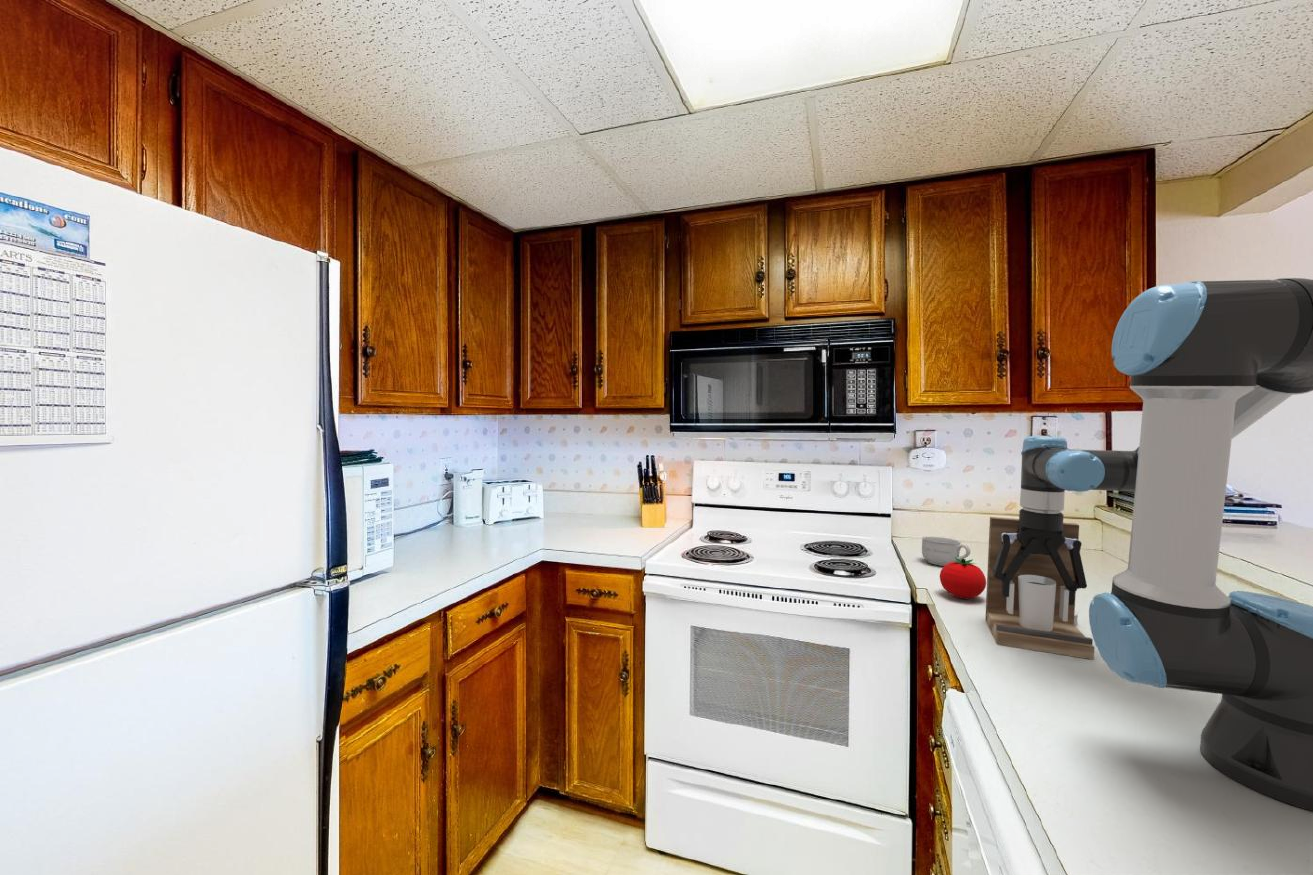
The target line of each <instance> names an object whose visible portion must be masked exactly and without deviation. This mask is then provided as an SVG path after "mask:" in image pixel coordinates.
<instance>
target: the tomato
mask: <svg viewBox="0 0 1313 875" xmlns="http://www.w3.org/2000/svg"><path fill="white" fill-rule="evenodd" d="M955 559H956V560H957V561H958V562H957V561H954V562H950V563H948V564H946V565H945V566H942V568H941V570H940V573H939V581H940V584H941V586H942V588H943V589H944V591H946V592H947V593H948V594H950V595H952V596H953V597H956V598H959V599H973V598H976V597H979V596H980V595H981V594H982V593H983V592H984V591H985V589H986V588H987V578H986V575H985V574H984V572H983V570H982V569H981V568H980V567H978V566H977V565H975V564H977V563H976V562H973V561H974V559H969V560H966V558H964V559H961V560H960V559H958V558H956V557H955ZM951 561H952V560H951Z"/></svg>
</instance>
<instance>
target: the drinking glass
mask: <svg viewBox="0 0 1313 875" xmlns="http://www.w3.org/2000/svg"><path fill="white" fill-rule="evenodd" d="M1018 592H1019V618H1020V625H1021V626H1023V627H1025V628H1027V629H1034V630H1040V631H1047V632H1049V631H1052V630H1053V619H1054V606H1055V593H1056V581H1054V580H1053V579H1050V578H1047V577H1042V576H1036V575H1020V576H1018Z"/></svg>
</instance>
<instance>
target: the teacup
mask: <svg viewBox="0 0 1313 875" xmlns="http://www.w3.org/2000/svg"><path fill="white" fill-rule="evenodd" d="M921 539H922V541H921V554H922V558H924V559H925V560H926V561H927V562H928V563H929V564H932V565H936V566H940V567H944V566H945V565H946V564H948V563H950V562H954V561H957V560H956V559H955V557H956V558H958V559H960V560H961V559H966V558H968V557H969V556H970V554H971V548H970V547H969V546H968V545H967V544H965V543H962V544H961V541H960V540H958V539H955V538H954V539H953V538H949V537H943V536H934V535H933V536H930V535H929V536H926V535H925V536H922V537H921ZM961 548H963V549H965V554H964V555H961V556H960V551H961ZM951 560H952V561H951ZM957 562H958V561H957Z"/></svg>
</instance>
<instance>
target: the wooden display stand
mask: <svg viewBox="0 0 1313 875" xmlns="http://www.w3.org/2000/svg"><path fill="white" fill-rule="evenodd" d="M988 528H989V531H988V533H989V534H988V550H987V551H988V552H987V573H986V574H987V575H986V576H987V578H986V595H985V597H986V598H985V599H986V600H985V615H984V616H985V618H984V619H985V622H986V624H987V626H988V628H989V631H990V632H991V634H992V637H993V638H994V640H995V642H996V644H997V645H999V646H1000V645H1001V646H1007V647H1011V648H1012V647H1013V648H1019V649H1025V650H1026V649H1027V650H1032V651H1037V652H1038V651H1039V652H1043V653H1044V652H1045V653H1051V654H1058V655H1063V656H1070V657H1075V658H1076V657H1077V658H1082V659H1087V660H1088V659H1089V660H1094V659H1095V658H1094V656H1095V646H1094V645H1093V641H1094V639H1093V638H1092V637H1087V636H1086V635H1084V634H1083V633H1082V632H1081V630H1080V629H1079V628H1078V627H1077V625H1076V626H1075V625H1074V613H1075V611H1076V599H1075V600H1074V604H1073V605H1068V622H1066V621H1063V620H1062V619H1061V618H1060V617H1059V609H1060V590H1061V586H1063V587H1066V585H1065V583H1064V581H1063V579H1062V577H1061V576H1060V574H1059V572H1058V570H1057V568H1056V566H1055V564H1054V562H1053V560H1052V558H1051V557H1050V555H1049V556H1048V555H1043V554H1031V553H1030V555H1029V556H1028V557H1027V558H1026V559H1025V561H1024V562H1023V564H1022V565H1021V566H1020V568H1019V569H1018V571H1017V572H1016V574H1015V575H1014V577H1013V578H1012V580H1011V581H1012V582H1013V583H1014V605H1013V614H1009V613H1008V611H1007V610H1006V603H1007V597H1004V596H1003V595H1002V592H1001V591H1002V580H1000V579H997V578H995V577H994V575H993V574H992V571H993V568H994V565H995V562H996V559H997V555H998V552H999V549H1000V546H1001V543H1002V542H1001V533H1002V532H1005V533H1016V532H1017V530H1018V528H1019V518H1009V517H997V516H989V527H988ZM1063 535H1064V537H1065V538H1070V539H1072V538H1076V539H1077V540H1079V539H1080V538H1079V537H1080V525H1079V524H1077V523H1074V522H1063ZM1021 545H1022V544H1021V543H1020V542H1019V541H1018V539H1015V540H1014V542H1013V543H1012V544H1010V549H1009V552H1008V556H1007V559H1006V562H1005V565H1004V568H1003V571H1002V573H1004V572H1005V570H1006V569H1007V567H1008V566H1009V564H1010V563H1011V561H1012V560H1013V558H1014V557H1015V555H1016V554H1017V552H1018V550H1019V548H1020V547H1021ZM1057 551H1058V553H1059V555H1060V557H1061V560H1062V561H1063V563H1064V565H1065V567H1066V569H1067V571H1068V573H1069V575H1070V577H1071V579H1072V581H1075V576H1074V572H1073V567H1072V562H1071V558H1070V553H1069V548H1067V547H1066V543H1064V544H1062V545H1061V546H1060V547H1059V548H1058V549H1057ZM1020 575H1036V576H1042V577H1047V578H1050V579H1053V580H1054V581H1056V593H1055V606H1054V619H1053V630H1052V631H1049V632H1047V631H1040V630H1034V629H1027V628H1025V627H1023V626H1021V625H1020V618H1019V592H1018V576H1020ZM1076 592H1077V591H1075V596H1076Z"/></svg>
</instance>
